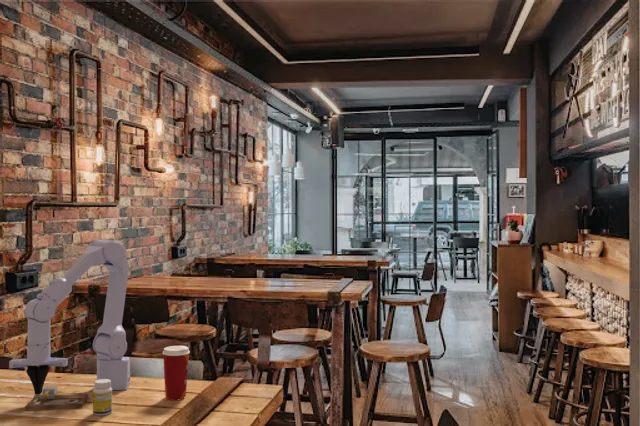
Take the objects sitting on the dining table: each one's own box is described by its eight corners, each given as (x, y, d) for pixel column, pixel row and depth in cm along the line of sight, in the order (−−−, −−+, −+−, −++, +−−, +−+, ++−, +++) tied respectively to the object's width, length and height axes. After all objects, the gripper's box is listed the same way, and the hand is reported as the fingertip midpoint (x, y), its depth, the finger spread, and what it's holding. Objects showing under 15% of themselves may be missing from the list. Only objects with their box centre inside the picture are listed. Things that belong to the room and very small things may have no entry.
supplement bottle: (95, 410, 163) (96, 378, 163) (114, 410, 163) (114, 378, 163) (90, 416, 158) (90, 383, 158) (109, 416, 158) (109, 383, 158)
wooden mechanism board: (88, 398, 173) (88, 390, 173) (81, 407, 164) (82, 399, 164) (35, 400, 171) (35, 392, 171) (25, 410, 162) (25, 401, 162)
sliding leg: (57, 395, 171) (57, 385, 171) (50, 402, 164) (50, 393, 164) (45, 395, 170) (45, 386, 170) (38, 403, 163) (38, 393, 163)
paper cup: (194, 397, 175) (195, 348, 175) (171, 403, 170) (172, 352, 170) (179, 391, 180) (179, 343, 181) (156, 397, 175) (156, 347, 175)
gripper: (5, 347, 163) (5, 398, 163) (63, 345, 166) (63, 396, 166) (14, 341, 170) (13, 391, 170) (69, 340, 173) (69, 389, 172)
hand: (38, 393), depth 168 cm, fingers closed
